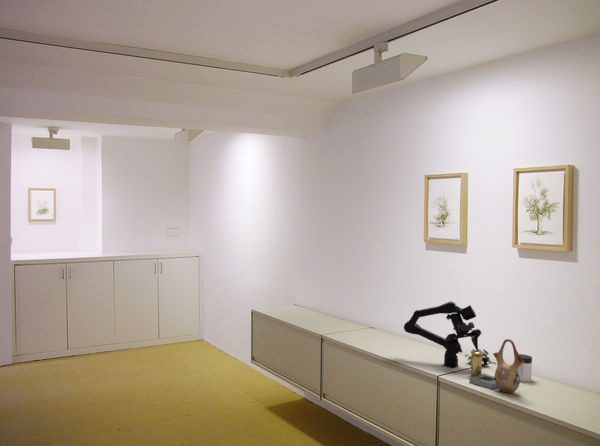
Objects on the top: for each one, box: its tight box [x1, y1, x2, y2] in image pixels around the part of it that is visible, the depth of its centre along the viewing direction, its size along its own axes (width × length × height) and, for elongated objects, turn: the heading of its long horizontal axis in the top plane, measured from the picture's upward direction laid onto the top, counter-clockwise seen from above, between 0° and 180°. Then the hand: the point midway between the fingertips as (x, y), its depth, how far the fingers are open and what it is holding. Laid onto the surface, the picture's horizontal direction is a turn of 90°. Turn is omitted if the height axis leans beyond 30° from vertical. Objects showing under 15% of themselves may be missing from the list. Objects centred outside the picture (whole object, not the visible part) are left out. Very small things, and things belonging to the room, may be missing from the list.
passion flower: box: [465, 348, 492, 366], centre depth 293 cm, size 11×11×12 cm
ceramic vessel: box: [492, 338, 524, 394], centre depth 249 cm, size 16×9×25 cm, turn 32°
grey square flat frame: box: [469, 373, 499, 390], centre depth 260 cm, size 12×12×2 cm
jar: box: [518, 353, 533, 383], centre depth 269 cm, size 9×8×12 cm
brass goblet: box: [470, 349, 484, 378], centre depth 270 cm, size 6×6×13 cm
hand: (469, 351), depth 278 cm, fingers open, 9 cm apart
